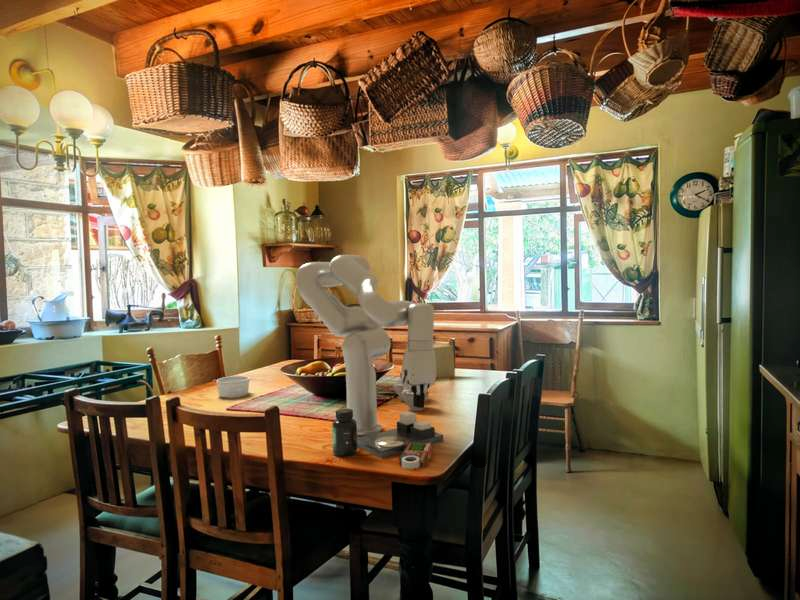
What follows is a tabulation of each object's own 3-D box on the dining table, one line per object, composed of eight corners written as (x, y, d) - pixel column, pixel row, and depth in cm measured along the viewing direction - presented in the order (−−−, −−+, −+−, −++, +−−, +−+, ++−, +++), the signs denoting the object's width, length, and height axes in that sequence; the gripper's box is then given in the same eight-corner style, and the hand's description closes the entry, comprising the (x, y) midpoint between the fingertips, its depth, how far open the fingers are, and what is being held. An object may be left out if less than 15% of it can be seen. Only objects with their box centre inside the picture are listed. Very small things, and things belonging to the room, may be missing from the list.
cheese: (452, 374, 256) (451, 343, 255) (456, 378, 246) (456, 346, 245) (406, 376, 253) (406, 345, 252) (409, 380, 243) (409, 348, 242)
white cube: (413, 434, 156) (413, 422, 156) (423, 431, 158) (423, 420, 158) (421, 437, 153) (421, 425, 153) (431, 434, 156) (430, 423, 155)
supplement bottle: (332, 457, 145) (330, 414, 144) (333, 449, 151) (332, 407, 151) (357, 456, 145) (356, 413, 144) (357, 448, 152) (356, 407, 151)
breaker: (400, 424, 162) (399, 413, 162) (409, 422, 164) (409, 411, 164) (407, 427, 159) (406, 416, 159) (416, 425, 161) (416, 413, 161)
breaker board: (354, 445, 155) (354, 430, 154) (414, 430, 168) (414, 416, 167) (381, 458, 143) (381, 442, 143) (443, 441, 156) (443, 426, 156)
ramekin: (244, 399, 214) (243, 382, 214) (212, 399, 215) (211, 382, 214) (254, 391, 228) (253, 375, 227) (223, 392, 228) (223, 376, 228)
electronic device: (396, 460, 136) (409, 439, 150) (397, 471, 136) (409, 449, 151) (422, 462, 134) (432, 440, 149) (422, 473, 134) (433, 450, 149)
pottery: (403, 414, 188) (402, 380, 187) (391, 397, 212) (391, 368, 211) (434, 411, 190) (433, 378, 189) (419, 395, 214) (418, 366, 213)
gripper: (431, 341, 162) (430, 400, 164) (391, 345, 153) (390, 407, 155) (448, 345, 156) (446, 406, 158) (407, 349, 147) (406, 414, 149)
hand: (418, 406), depth 156 cm, fingers closed
